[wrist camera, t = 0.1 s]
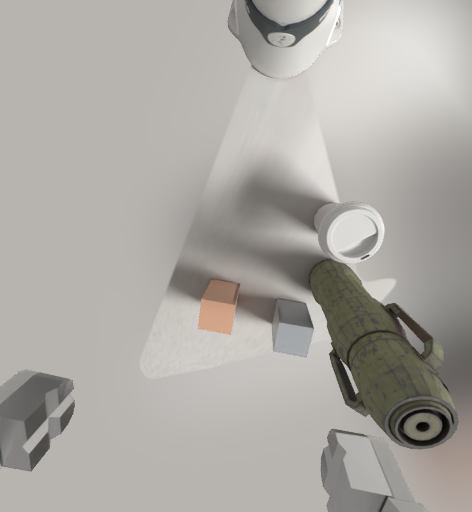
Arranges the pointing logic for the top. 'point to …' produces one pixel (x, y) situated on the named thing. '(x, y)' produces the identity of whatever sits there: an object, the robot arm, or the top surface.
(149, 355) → the top surface
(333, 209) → the coffee cup
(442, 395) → the thermos
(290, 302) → the light gray boxy block
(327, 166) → the top surface
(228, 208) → the top surface
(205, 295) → the tan block
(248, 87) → the top surface
